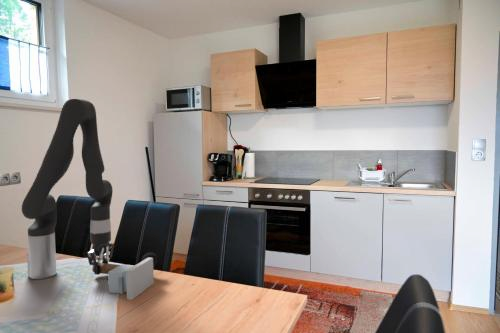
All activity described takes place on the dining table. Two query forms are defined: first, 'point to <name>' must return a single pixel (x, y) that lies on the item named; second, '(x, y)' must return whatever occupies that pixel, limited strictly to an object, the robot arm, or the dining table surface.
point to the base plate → (139, 278)
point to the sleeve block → (118, 279)
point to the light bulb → (151, 255)
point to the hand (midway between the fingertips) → (101, 271)
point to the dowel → (106, 267)
